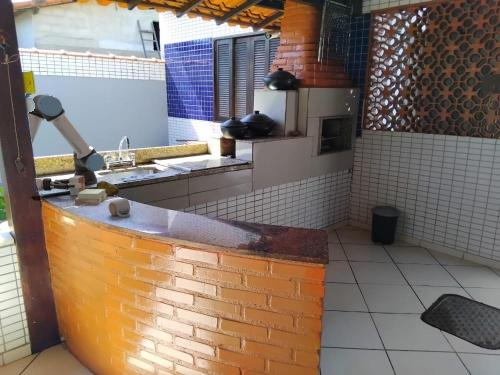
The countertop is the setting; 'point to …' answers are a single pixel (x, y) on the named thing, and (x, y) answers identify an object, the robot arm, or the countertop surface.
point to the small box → (77, 180)
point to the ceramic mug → (120, 207)
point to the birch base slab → (90, 200)
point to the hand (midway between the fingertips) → (83, 183)
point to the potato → (108, 188)
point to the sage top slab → (91, 194)
